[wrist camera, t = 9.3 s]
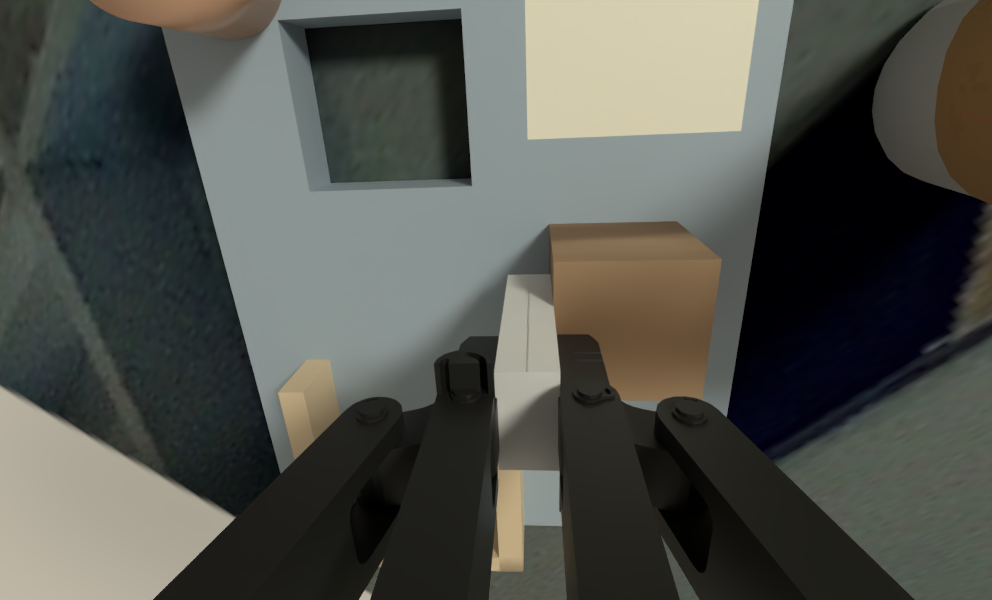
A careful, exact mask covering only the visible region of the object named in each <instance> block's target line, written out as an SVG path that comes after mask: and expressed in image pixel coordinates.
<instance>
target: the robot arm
mask: <svg viewBox="0 0 992 600" xmlns="http://www.w3.org/2000/svg"><path fill="white" fill-rule="evenodd" d="M434 371H435V381H436V391H437V396H436V399H435V402H434V403H433V404H431V405H429V406H426V407H423V408H419V409H415V410H410V411H405V412H403V411H402V406H401V404H400V403H399V402H398V401H397V400H395V399H392V398H388V397H372V398H367V399H364V400H361V401H359V402H356V403H354V404H353V405H351V406H350V407H349V408H347V409H346V410H345V411H344V412H343V413H342V414H341V415H340V416H339V417H338V418H337V419H336V420H335V421H334V422H333V423H332V424H331V425H330V426H329V427H328V428H327V429H326V430H325V431H324V432H323V433H322V434H321V435H320V436H319V437H318V438H317V439H316V440H315V441H314V442H312V443H311V444H310V445H309V446H308V447H307V448H306V449H305V450H304V451H303V452H302V453H301V454H300V455H299V456H298V457H297V458H296V459H295V460H294V461H293V462H292V463H291V464H290V465H289V466H288V467H287V468H286V469H285V470H284V471H283V472H282V473H281V474H280V475H279V476H278V477H277V478H276V479H275V480H274V481H273V482H272V483H271V484H270V485H269V486H268V487H267V488H266V489H265V490H264V491H263V492H262V493H261V494H260V495H259V496H258V497H257V498H256V499H255V500H254V501H253V502H252V503H251V504H250V505H249V506H248V507H247V508H245V509H244V510H243V511H242V512H241V513H240V514H239V515H238V516H237V517H236V518H235V519H234V520H233V521H232V522H231V523H230V524H229V525H228V526H227V527H226V528H225V529H224V530H223V531H222V532H221V533H220V534H219V535H218V536H217V537H216V538H215V539H214V540H213V541H212V542H211V543H210V544H209V545H208V546H207V547H206V548H205V549H204V550H203V551H202V552H201V553H200V554H199V555H198V556H197V557H196V558H195V559H194V560H193V561H192V562H191V563H190V564H189V565H188V566H187V567H186V568H185V569H184V570H183V571H182V572H181V573H180V574H178V576H177V577H175V579H173V581H171V582H170V583H169V584H168V586H166V587H165V588H164V589H163V590H162V591H161V592H160V593H159V594H158V595H157V596H156V597H155V598H154V599H153V600H359V598H360V597H361V595H362V593H363V592H364V590H365V588H366V587H367V585H368V583H369V582H370V580H371V578H372V577H373V575H374V573H375V572H376V570H377V569H378V567H379V565H380V564H381V562H382V560H383V562H382V565H381V568H380V571H379V574H378V577H377V581H376V584H375V587H374V590H373V593H372V596H371V599H370V600H489V588H490V577H491V565H492V554H493V543H494V531H495V520H496V508H497V497H498V486H499V485H498V464H499V470H540V471H560V477H559V512H561V517H562V532H563V547H564V562H565V577H566V592H567V600H680V599H679V596H678V592H677V589H676V585H675V582H674V579H673V575H672V572H671V568H670V565H669V562H668V558H667V555H666V551H665V548H664V545H663V541H662V538H661V535H662V537H663V539H664V541H665V542H666V544H667V546H668V547H669V549H670V551H671V552H672V554H673V556H674V557H675V559H676V561H677V562H678V564H679V566H680V567H681V569H682V571H683V572H684V574H685V576H686V578H687V579H688V581H689V583H690V584H691V586H692V588H693V589H694V591H695V593H696V594H697V596H698V598H699V599H700V600H914V599H913V598H912V597H911V596H910V595H909V594H908V593H907V592H906V591H905V590H904V589H903V588H902V587H901V586H900V585H899V584H898V583H897V582H896V581H895V580H894V579H893V578H892V577H891V576H890V575H889V574H888V573H886V572H885V571H884V570H883V569H882V568H881V567H880V566H879V565H878V564H877V563H876V562H875V561H874V560H873V559H872V558H871V557H870V556H869V555H868V554H867V553H866V552H865V551H864V550H863V549H862V548H861V547H860V546H859V545H858V544H857V543H856V542H855V541H853V540H852V539H851V538H850V537H849V536H848V535H847V534H846V533H845V532H844V531H843V530H842V529H841V528H840V527H839V526H838V525H837V524H836V523H835V522H834V521H833V520H832V519H831V518H830V517H829V516H828V515H827V514H826V513H825V512H824V511H823V510H821V509H820V508H819V507H818V506H817V505H816V504H815V503H814V502H813V501H812V500H811V499H810V498H809V497H808V496H807V495H806V494H805V493H804V492H803V491H802V490H801V489H800V488H799V487H798V486H797V485H796V484H795V483H794V482H793V481H792V480H791V479H790V478H788V477H787V476H786V475H785V474H784V473H783V472H782V471H781V470H780V469H779V468H778V467H777V466H776V465H775V464H774V463H773V462H772V461H771V460H770V459H769V458H768V457H767V456H766V455H765V454H764V453H763V452H762V451H761V450H760V449H759V448H758V447H756V446H755V445H754V444H753V443H752V442H751V441H750V440H749V439H748V438H747V437H746V436H745V435H744V434H743V433H742V432H741V431H740V430H739V429H738V428H737V427H736V426H735V425H734V424H733V423H732V422H731V421H730V420H729V419H728V418H727V417H726V416H725V415H723V414H722V413H721V412H720V411H719V410H718V409H717V408H715V407H714V406H713V405H711V404H710V403H708V402H705V401H703V400H700V399H697V398H693V397H687V396H675V397H670V398H666V399H663V400H662V401H661V402H660V403H658V404H657V409H656V411H651V410H645V409H641V408H637V407H633V406H631V405H628V404H626V403H624V402H622V401H621V398H620V395H619V393H618V392H617V390H616V389H615V388H613V387H612V386H610V383H609V380H608V376H607V372H606V369H605V365H604V361H603V358H602V354H601V350H600V347H599V343H598V342H597V341H596V340H595V339H594V338H593V337H591V336H590V335H589V334H557V333H556V324H555V314H554V306H553V296H552V285H551V275H550V274H526V275H508V278H507V285H506V292H505V299H504V306H503V313H502V320H501V326H500V333H499V336H469V337H468V338H467V339H466V340H465V341H464V342H463V343H461V344H460V347H459V350H457V351H453V352H449V353H446V354H444V355H442V356H441V357H439V358H438V359H437V360H436V361H435V363H434Z"/></svg>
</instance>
